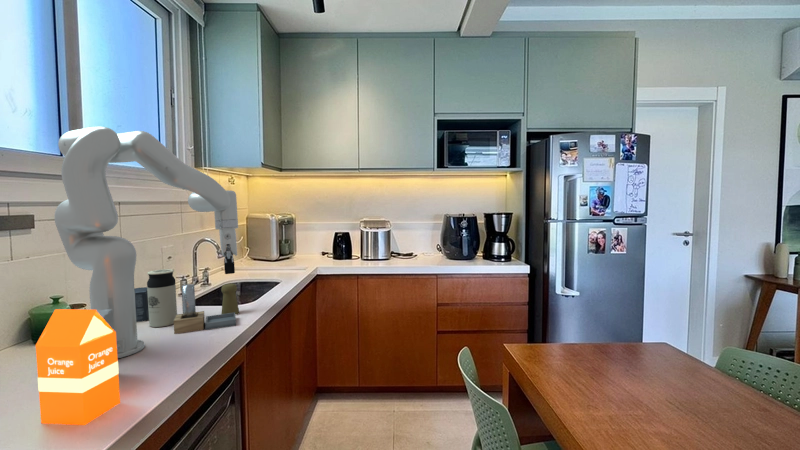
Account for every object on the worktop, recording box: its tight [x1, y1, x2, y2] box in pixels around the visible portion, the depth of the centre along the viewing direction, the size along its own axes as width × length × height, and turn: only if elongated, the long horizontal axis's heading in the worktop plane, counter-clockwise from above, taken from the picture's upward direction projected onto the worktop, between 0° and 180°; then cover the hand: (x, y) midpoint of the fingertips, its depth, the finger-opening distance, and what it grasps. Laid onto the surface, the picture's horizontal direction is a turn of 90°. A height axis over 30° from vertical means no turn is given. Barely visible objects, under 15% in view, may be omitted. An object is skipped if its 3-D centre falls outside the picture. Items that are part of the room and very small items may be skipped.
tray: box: [204, 313, 237, 331], centre depth 123 cm, size 9×9×2 cm
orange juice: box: [34, 308, 121, 426], centre depth 70 cm, size 8×9×20 cm
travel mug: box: [146, 268, 178, 328], centre depth 124 cm, size 8×8×18 cm
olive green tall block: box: [220, 283, 240, 315], centre depth 134 cm, size 6×6×11 cm
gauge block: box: [173, 310, 206, 335], centre depth 119 cm, size 8×8×4 cm
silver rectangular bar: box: [180, 283, 197, 319], centre depth 119 cm, size 4×4×14 cm
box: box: [134, 286, 149, 323], centre depth 130 cm, size 8×6×11 cm
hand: (229, 271), depth 134 cm, fingers open, 9 cm apart
